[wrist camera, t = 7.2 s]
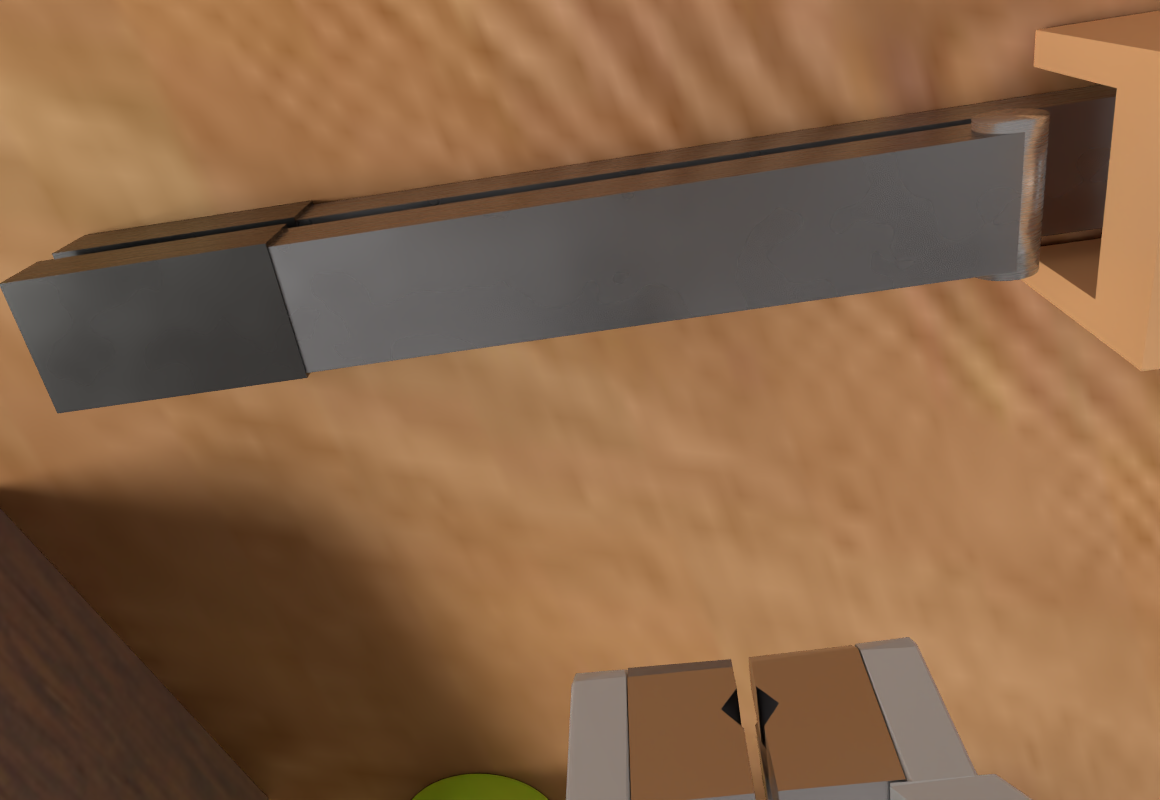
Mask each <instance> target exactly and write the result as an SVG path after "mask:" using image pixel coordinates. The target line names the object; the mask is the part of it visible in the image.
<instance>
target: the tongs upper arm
mask: <svg viewBox="0 0 1160 800" xmlns="http://www.w3.org/2000/svg"><path fill="white" fill-rule="evenodd" d="M1049 120H1050V112H1049V111H1046V110H1042V109H1034V108H1016V109H1003V110H996V111H990V112H985V113H981V114H978V115H976V116H974V117H972V119H971V124H965V125H958V126H952V127H945V128H939V129H932V130H926V131H919V132H913V133H906V134H900V135H893V136H887V137H880V138H873V139H867V140H860V141H854V142H847V143H841V144H834V145H828V146H821V147H815V148H808V149H802V150H795V151H789V152H782V153H776V154H769V155H763V156H756V157H749V158H743V159H736V160H730V161H723V162H717V163H710V164H704V165H697V166H691V167H684V168H678V169H671V170H665V171H658V172H652V173H645V174H638V175H632V176H625V177H619V178H612V179H606V180H599V181H593V182H586V183H580V184H573V185H567V186H560V187H554V188H547V189H541V190H534V191H528V192H521V193H514V194H508V195H501V196H495V197H488V198H482V199H475V200H469V201H462V202H456V203H449V204H443V205H436V206H430V207H423V208H417V209H410V210H404V211H397V212H390V213H384V214H377V215H371V216H364V217H358V218H351V219H345V220H338V221H332V222H325V223H319V224H312V225H306V226H299V227H293V228H288V227H287V224H280V225H274V226H267V227H261V228H254V229H248V230H241V231H235V232H228V233H221V234H215V235H208V236H202V237H195V238H189V239H182V240H176V241H169V242H163V243H156V244H150V245H143V246H137V247H130V248H124V249H117V250H111V251H104V252H98V253H91V254H85V255H78V256H72V257H65V258H59V259H52V260H46V261H39V262H36V263H35V264H33V265H31V266H29V267H28V268H26V269H24V270H22V271H21V272H19V273H17V274H15V275H14V276H12V277H10V278H9V279H7V280H5V281H3V282H2V283H0V287H1V289H2V292H3V294H4V296H5V298H6V300H7V303H8V305H9V307H10V309H11V312H12V314H13V316H14V318H15V320H16V323H17V325H18V327H19V329H20V331H21V334H22V336H23V338H24V340H25V343H26V345H27V347H28V349H29V351H30V354H31V356H32V358H33V360H34V362H35V365H36V367H37V369H38V371H39V373H40V376H41V378H42V380H43V382H44V385H45V387H46V389H47V391H48V393H49V396H50V398H51V400H52V402H53V404H54V407H55V409H56V411H57V413H64V412H71V411H78V410H85V409H92V408H99V407H106V406H113V405H120V404H127V403H134V402H141V401H148V400H155V399H162V398H169V397H176V396H183V395H190V394H197V393H204V392H211V391H218V390H225V389H232V388H239V387H246V386H253V385H260V384H267V383H274V382H281V381H288V380H295V379H302V378H307V377H308V376H309V374H310V372H316V371H323V370H330V369H337V368H344V367H351V366H358V365H365V364H372V363H379V362H386V361H393V360H400V359H407V358H414V357H421V356H428V355H435V354H442V353H449V352H456V351H463V350H470V349H477V348H484V347H491V346H498V345H505V344H512V343H519V342H526V341H533V340H540V339H547V338H554V337H561V336H568V335H575V334H582V333H589V332H596V331H603V330H610V329H617V328H624V327H631V326H638V325H645V324H652V323H659V322H666V321H673V320H680V319H687V318H694V317H701V316H708V315H715V314H722V313H729V312H736V311H743V310H750V309H757V308H764V307H771V306H778V305H784V304H791V303H798V302H805V301H812V300H819V299H826V298H833V297H840V296H847V295H854V294H861V293H868V292H875V291H882V290H889V289H896V288H903V287H910V286H917V285H924V284H931V283H938V282H945V281H952V280H959V279H966V278H973V277H975V278H979V279H983V280H991V281H1011V280H1019V279H1024V278H1027V277H1030V276H1033V275H1034V274H1036V273H1037V272H1038V270H1039V259H1040V245H1041V231H1042V217H1043V204H1044V190H1045V176H1046V162H1047V148H1048V134H1049Z"/></svg>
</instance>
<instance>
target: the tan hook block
mask: <svg viewBox="0 0 1160 800" xmlns="http://www.w3.org/2000/svg"><path fill="white" fill-rule="evenodd" d="M1034 67H1036V68H1040V69H1044V70H1048V71H1052V72H1056V73H1060V74H1063V75H1067V76H1071V77H1075V78H1079V79H1083V80H1087V81H1091V82H1094V83H1098V84H1102V85H1106V86H1110V87H1114V88H1117V92H1116V102H1115V112H1114V121H1113V131H1112V141H1111V151H1110V161H1109V170H1108V180H1107V190H1106V200H1105V210H1104V220H1103V229H1102V238H1099V239H1092V240H1085V241H1078V242H1071V243H1064V244H1057V245H1049V246H1042V247H1040V259H1039V270H1038V272H1037V273H1036V274H1034V275H1033V276H1030V277H1027V278H1024V279H1020V280H1022V281H1023V282H1024V283H1026V284H1027V285H1028V286H1030V287H1031V288H1032V289H1034V290H1035V291H1036V292H1038V293H1039V294H1040V295H1042V296H1043V297H1044V298H1046V299H1047V300H1048V301H1049V302H1051V303H1052V304H1053V305H1055V306H1056V307H1057V308H1059V309H1060V310H1061V311H1063V312H1064V313H1065V314H1067V315H1068V316H1069V317H1071V318H1072V319H1073V320H1075V321H1076V322H1077V323H1079V324H1080V325H1081V326H1082V327H1084V328H1085V329H1086V330H1088V331H1089V332H1090V333H1092V334H1093V335H1094V336H1096V337H1097V338H1098V339H1100V340H1101V341H1102V342H1104V343H1105V344H1106V345H1108V346H1109V347H1110V348H1112V349H1113V350H1114V351H1115V352H1117V353H1118V354H1119V355H1121V356H1122V357H1123V358H1125V359H1126V360H1127V361H1129V362H1130V363H1131V364H1133V365H1134V366H1135V367H1137V368H1138V369H1139V370H1141V371H1147V370H1154V369H1160V11H1154V12H1147V13H1141V14H1134V15H1128V16H1122V17H1115V18H1109V19H1103V20H1096V21H1090V22H1083V23H1077V24H1071V25H1064V26H1058V27H1052V28H1045V29H1039V30H1036V37H1035V53H1034Z"/></svg>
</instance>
